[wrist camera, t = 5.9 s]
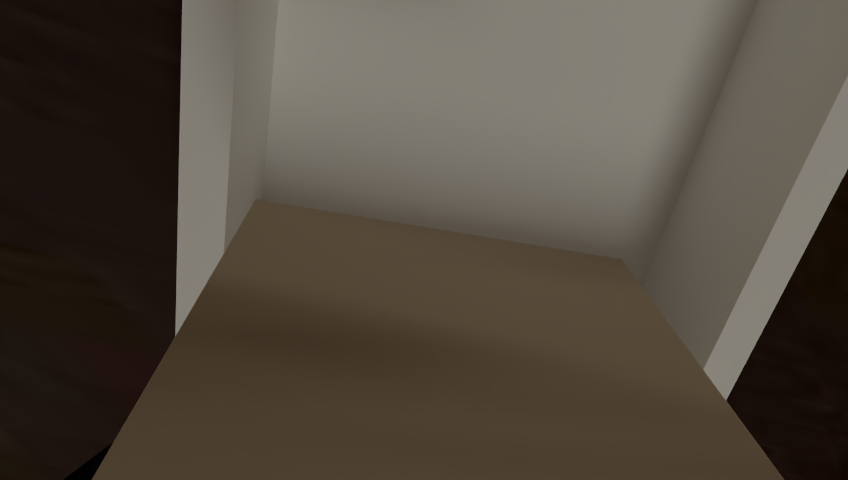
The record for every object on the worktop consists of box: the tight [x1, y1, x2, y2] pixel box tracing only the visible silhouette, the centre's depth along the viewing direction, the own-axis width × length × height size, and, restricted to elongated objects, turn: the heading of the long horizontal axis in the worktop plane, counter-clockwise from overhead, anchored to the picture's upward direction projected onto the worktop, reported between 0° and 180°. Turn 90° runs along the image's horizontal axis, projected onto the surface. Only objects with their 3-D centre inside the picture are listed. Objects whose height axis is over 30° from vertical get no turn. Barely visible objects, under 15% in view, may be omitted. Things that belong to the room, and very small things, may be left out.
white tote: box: [175, 0, 848, 400], centre depth 14 cm, size 18×14×5 cm
